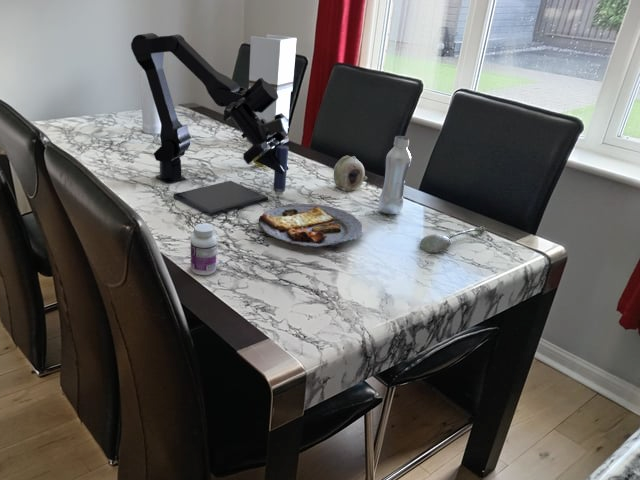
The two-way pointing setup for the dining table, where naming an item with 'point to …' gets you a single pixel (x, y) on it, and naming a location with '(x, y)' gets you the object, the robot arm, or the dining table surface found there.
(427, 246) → the soupspoon
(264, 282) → the dining table surface
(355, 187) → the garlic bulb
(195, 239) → the pill bottle
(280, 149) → the dark blue cylinder
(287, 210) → the food plate
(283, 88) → the white tower box
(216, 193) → the tablet
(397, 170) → the plastic bottle
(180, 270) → the dining table surface
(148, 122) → the bottle
